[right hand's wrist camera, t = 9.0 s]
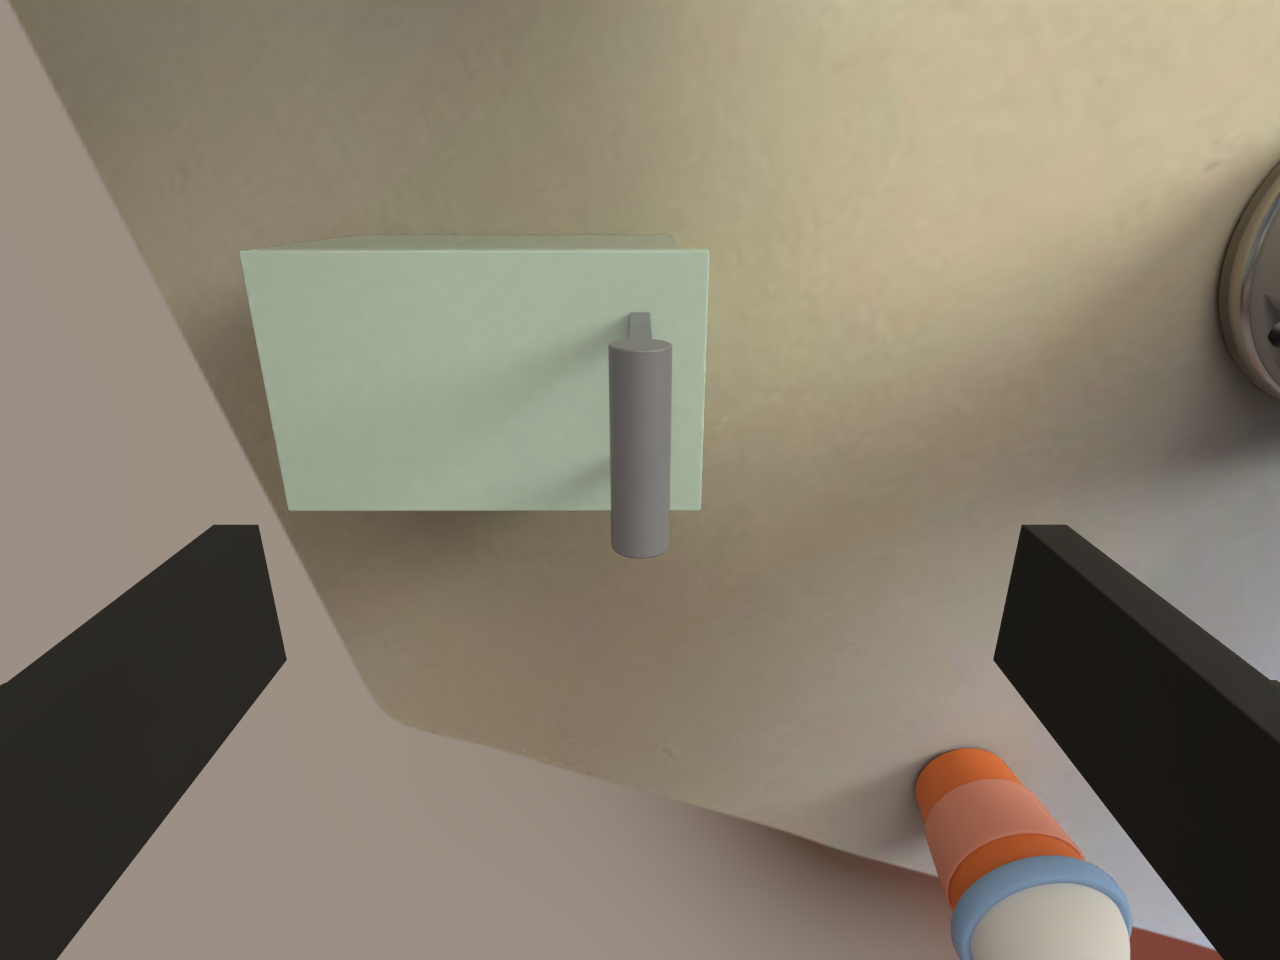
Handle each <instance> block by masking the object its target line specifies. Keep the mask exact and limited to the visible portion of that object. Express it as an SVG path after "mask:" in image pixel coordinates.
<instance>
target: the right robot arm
mask: <svg viewBox="0 0 1280 960" xmlns="http://www.w3.org/2000/svg"><path fill="white" fill-rule="evenodd" d="M1219 313H1220V322H1221V327H1222V332H1223V336H1224V339H1225V342H1226V345H1227V347H1228V349H1229V352H1230V354H1231V356H1232V358H1233V359H1234V361H1235V362H1236V364H1237V365H1238V367H1239V368H1240V370H1241V371H1242V372H1243V373H1244V374H1245V375H1246V377H1247V378H1248V379H1249V380H1251V381H1252V382H1253V383H1254V384H1255V385H1256V386H1258V387H1259V388H1261V389H1262V390H1264V391H1265V392H1267V393H1268V394H1270V395H1272V396H1274V397H1276V398H1278V399H1280V163H1279V164H1278V165H1277V166H1276V168H1275V169H1274V170H1273V171H1272V172H1271V174H1270V175H1269V176H1268V177H1267V179H1266V180H1265V181H1264V182H1263V184H1262V185H1261V187H1260V188H1259V189H1258V191H1257V192H1256V194H1255V195H1254V197H1253V198H1252V200H1251V201H1250V203H1249V205H1248V207H1247V208H1246V210H1245V212H1244V213H1243V215H1242V217H1241V219H1240V221H1239V223H1238V225H1237V227H1236V230H1235V232H1234V234H1233V237H1232V239H1231V242H1230V245H1229V247H1228V251H1227V254H1226V257H1225V261H1224V265H1223V270H1222V274H1221V280H1220V290H1219ZM286 660H287V659H286V654H285V650H284V645H283V640H282V636H281V631H280V626H279V621H278V616H277V612H276V607H275V602H274V597H273V593H272V588H271V583H270V578H269V574H268V569H267V564H266V559H265V555H264V550H263V545H262V541H261V536H260V531H259V526H258V525H213V526H211V527H210V528H209V529H208V530H206V531H205V532H204V533H202V534H201V535H200V536H198V537H197V538H196V539H194V540H193V541H192V542H191V543H189V544H188V545H187V546H185V547H184V548H183V549H181V550H180V551H179V552H177V553H176V554H175V555H173V556H172V557H171V558H170V559H168V560H167V561H166V562H164V563H163V564H162V565H160V566H159V567H158V568H156V569H155V570H154V571H152V572H151V573H150V574H149V575H147V576H146V577H145V578H143V579H142V580H141V581H139V582H138V583H137V584H135V585H134V586H133V587H132V588H130V589H129V590H128V591H126V592H125V593H124V594H122V595H121V596H120V597H118V598H117V599H116V600H114V601H113V602H112V603H111V604H109V605H108V606H107V607H105V608H104V609H103V610H101V611H100V612H99V613H97V614H96V615H95V616H93V617H92V618H91V619H89V620H88V621H87V622H86V623H84V624H83V625H82V626H80V627H79V628H78V629H76V630H75V631H74V632H73V633H71V634H70V635H69V636H67V637H66V638H65V639H63V640H62V641H61V642H59V643H58V644H57V645H55V646H54V647H53V648H52V649H50V650H49V651H48V652H46V653H45V654H44V655H42V656H41V657H40V658H38V659H37V660H36V661H34V662H33V663H32V664H30V665H29V666H28V667H27V668H25V669H24V670H23V671H21V672H20V673H19V674H17V675H16V676H15V677H13V678H12V679H11V680H9V681H8V682H7V683H4V684H2V685H0V960H56V959H57V958H58V957H59V956H60V954H61V953H62V952H63V950H64V949H65V948H66V946H67V945H68V944H69V942H70V941H71V940H72V939H73V937H74V936H75V935H76V933H77V932H78V931H79V930H80V928H81V927H82V926H83V924H84V923H85V922H86V920H87V919H88V918H89V917H90V915H91V914H92V913H93V911H94V910H95V909H96V907H97V906H98V905H99V903H100V902H101V901H102V900H103V898H104V897H105V896H106V894H107V893H108V892H109V890H110V889H111V888H112V887H113V885H114V884H115V883H116V881H117V880H118V879H119V877H120V876H121V875H122V874H123V872H124V871H125V870H126V868H127V867H128V866H129V864H130V863H131V862H132V860H133V859H134V858H135V857H136V855H137V854H138V853H139V851H140V850H141V849H142V848H143V846H144V845H145V844H146V842H147V841H148V840H149V838H150V837H151V836H152V834H153V833H154V832H155V831H156V829H157V828H158V827H159V825H160V824H161V823H162V821H163V820H164V819H165V818H166V816H167V815H168V814H169V812H170V811H171V810H172V808H173V807H174V806H175V805H176V803H177V802H178V801H179V799H180V798H181V797H182V795H183V794H184V793H185V792H186V790H187V789H188V788H189V786H190V785H191V784H192V782H193V781H194V780H195V778H196V777H197V776H198V775H199V773H200V772H201V771H202V769H203V768H204V767H205V765H206V764H207V763H208V762H209V760H210V759H211V758H212V756H213V755H214V754H215V752H216V751H217V750H218V749H219V747H220V746H221V745H222V743H223V742H224V741H225V739H226V738H227V737H228V736H229V734H230V733H231V732H232V730H233V729H234V728H235V726H236V725H237V724H238V723H239V721H240V720H241V719H242V717H243V716H244V715H245V713H246V712H247V711H248V710H249V708H250V707H251V706H252V704H253V703H254V702H255V700H256V699H257V698H258V697H259V695H260V694H261V693H262V691H263V690H264V689H265V687H266V686H267V685H268V684H269V682H270V681H271V680H272V678H273V677H274V676H275V674H276V673H277V672H278V670H279V669H280V668H281V667H282V665H283V664H284V663H285V661H286ZM993 660H994V661H995V663H996V664H997V665H998V667H999V668H1000V669H1001V670H1002V672H1003V673H1004V674H1005V676H1006V677H1007V678H1008V680H1009V681H1010V682H1011V684H1012V685H1013V686H1014V687H1015V689H1016V690H1017V691H1018V693H1019V694H1020V695H1021V697H1022V698H1023V699H1024V700H1025V702H1026V703H1027V704H1028V706H1029V707H1030V708H1031V710H1032V711H1033V712H1034V713H1035V715H1036V716H1037V717H1038V719H1039V720H1040V721H1041V723H1042V724H1043V725H1044V726H1045V728H1046V729H1047V730H1048V732H1049V733H1050V734H1051V736H1052V737H1053V738H1054V739H1055V741H1056V742H1057V743H1058V745H1059V746H1060V747H1061V749H1062V750H1063V751H1064V753H1065V754H1066V755H1067V756H1068V758H1069V759H1070V760H1071V762H1072V763H1073V764H1074V766H1075V767H1076V768H1077V769H1078V771H1079V772H1080V773H1081V775H1082V776H1083V777H1084V779H1085V780H1086V781H1087V782H1088V784H1089V785H1090V786H1091V788H1092V789H1093V790H1094V792H1095V793H1096V794H1097V795H1098V797H1099V798H1100V799H1101V801H1102V802H1103V803H1104V805H1105V806H1106V807H1107V808H1108V810H1109V811H1110V812H1111V814H1112V815H1113V816H1114V818H1115V819H1116V820H1117V822H1118V823H1119V824H1120V825H1121V827H1122V828H1123V829H1124V831H1125V832H1126V833H1127V835H1128V836H1129V837H1130V838H1131V840H1132V841H1133V842H1134V844H1135V845H1136V846H1137V848H1138V849H1139V850H1140V851H1141V853H1142V854H1143V855H1144V857H1145V858H1146V859H1147V861H1148V862H1149V863H1150V864H1151V866H1152V867H1153V868H1154V870H1155V871H1156V872H1157V874H1158V875H1159V876H1160V877H1161V879H1162V880H1163V881H1164V883H1165V884H1166V885H1167V887H1168V888H1169V889H1170V891H1171V892H1172V893H1173V894H1174V896H1175V897H1176V898H1177V900H1178V901H1179V902H1180V904H1181V905H1182V906H1183V907H1184V909H1185V910H1186V911H1187V913H1188V914H1189V915H1190V917H1191V918H1192V919H1193V920H1194V922H1195V923H1196V924H1197V926H1198V927H1199V928H1200V930H1201V931H1202V932H1203V933H1204V935H1205V936H1206V937H1207V939H1208V940H1209V941H1210V943H1211V944H1212V945H1213V946H1214V948H1215V949H1216V950H1217V952H1218V953H1219V954H1220V956H1221V957H1222V958H1223V959H1224V960H1280V682H1278V681H1276V680H1269V679H1268V678H1267V677H1265V676H1264V675H1263V674H1261V673H1260V672H1259V671H1257V670H1256V669H1255V668H1253V667H1252V666H1251V665H1250V664H1248V663H1247V662H1246V661H1244V660H1243V659H1242V658H1240V657H1239V656H1238V655H1236V654H1235V653H1234V652H1233V651H1231V650H1230V649H1229V648H1227V647H1226V646H1225V645H1223V644H1222V643H1221V642H1219V641H1218V640H1217V639H1215V638H1214V637H1213V636H1212V635H1210V634H1209V633H1208V632H1206V631H1205V630H1204V629H1202V628H1201V627H1200V626H1198V625H1197V624H1196V623H1194V622H1193V621H1192V620H1191V619H1189V618H1188V617H1187V616H1185V615H1184V614H1183V613H1181V612H1180V611H1179V610H1177V609H1176V608H1175V607H1173V606H1172V605H1171V604H1170V603H1168V602H1167V601H1166V600H1164V599H1163V598H1162V597H1160V596H1159V595H1158V594H1156V593H1155V592H1154V591H1152V590H1151V589H1150V588H1149V587H1147V586H1146V585H1145V584H1143V583H1142V582H1141V581H1139V580H1138V579H1137V578H1135V577H1134V576H1133V575H1131V574H1130V573H1129V572H1128V571H1126V570H1125V569H1124V568H1122V567H1121V566H1120V565H1118V564H1117V563H1116V562H1114V561H1113V560H1112V559H1110V558H1109V557H1108V556H1107V555H1105V554H1104V553H1103V552H1101V551H1100V550H1099V549H1097V548H1096V547H1095V546H1093V545H1092V544H1091V543H1090V542H1088V541H1087V540H1086V539H1084V538H1083V537H1082V536H1080V535H1079V534H1078V533H1076V532H1075V531H1074V530H1072V529H1071V528H1070V527H1069V526H1067V525H1022V526H1021V531H1020V536H1019V540H1018V545H1017V550H1016V555H1015V559H1014V564H1013V569H1012V574H1011V578H1010V583H1009V588H1008V593H1007V597H1006V602H1005V607H1004V612H1003V616H1002V621H1001V626H1000V631H999V635H998V640H997V645H996V650H995V654H994V659H993Z"/></svg>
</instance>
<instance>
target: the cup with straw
mask: <svg viewBox="0 0 1280 960" xmlns="http://www.w3.org/2000/svg"><path fill="white" fill-rule="evenodd" d="M915 794H916V799H917V802H918V806H919V809H920V812H921V815H922V818H923V821H924V824H925V835H926V839H927V842H928V845H929V848H930V852H931V855H932V858H933V861H934V864H935V867H936V870H937V873H938V876H939V879H940V882H941V885H942V888H943V891H944V894H945V897H946V900H947V903H948V905H949V907H950V909H951V911H952V912H953V915H952V919H951V937H952V941H953V945H954V948H955V950H956V952H957V955H958V957H959V958H960V960H1130V941H1129V938H1130V935H1131V931H1132V915H1131V910H1130V907H1129V904H1128V901H1127V899H1126V897H1125V895H1124V893H1123V891H1122V890H1121V888H1120V887H1119V885H1118V884H1117V883H1116V882H1115V881H1114V880H1113V879H1112V878H1111V877H1110V876H1109V875H1108V874H1107V873H1106V872H1104V871H1103V870H1102V869H1100V868H1098V867H1097V866H1095V865H1093V864H1091V863H1089V862H1086V860H1085V858H1084V856H1083V854H1082V853H1081V851H1080V850H1079V849H1078V847H1077V846H1076V845H1075V844H1074V842H1073V841H1072V840H1071V839H1070V838H1069V836H1068V835H1067V834H1066V833H1065V831H1064V830H1063V829H1062V828H1061V827H1060V825H1059V824H1058V823H1057V822H1056V820H1055V819H1054V818H1053V817H1052V816H1051V814H1050V813H1049V812H1048V811H1047V809H1046V808H1045V807H1044V806H1043V805H1042V803H1041V802H1040V801H1039V800H1038V798H1037V797H1036V796H1035V795H1034V794H1033V793H1032V792H1031V791H1030V790H1029V789H1027V788H1026V787H1024V786H1023V785H1022V784H1021V782H1020V781H1019V780H1018V779H1017V777H1016V776H1015V775H1014V774H1013V773H1012V771H1011V770H1010V769H1009V768H1008V766H1007V765H1006V764H1005V763H1004V762H1003V761H1002V760H1001V759H1000V758H999V757H997V756H996V755H994V754H992V753H990V752H988V751H985V750H981V749H974V748H964V749H957V750H953V751H950V752H947V753H945V754H942V755H940V756H938V757H937V758H935V759H934V760H932V761H931V762H930V763H929V764H928V765H927V766H926V767H925V768H924V769H923V770H922V772H921V773H920V775H919V777H918V779H917V782H916V788H915Z"/></svg>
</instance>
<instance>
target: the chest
mask: <svg viewBox="0 0 1280 960" xmlns="http://www.w3.org/2000/svg"><path fill="white" fill-rule="evenodd" d="M257 249H683V248H682V247H681V246H680V244H679V243H678V242H677V241H676V240H675V239H674V238H673V237H672V236H671V235H359V236H351V237H343V238H335V239H327V240H319V241H312V242H304V243H296V244H288V245H280V246H272V247H264V248H257Z"/></svg>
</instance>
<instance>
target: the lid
mask: <svg viewBox="0 0 1280 960" xmlns="http://www.w3.org/2000/svg"><path fill="white" fill-rule="evenodd" d="M239 257H240V262H241V267H242V272H243V278H244V283H245V288H246V293H247V298H248V304H249V309H250V314H251V319H252V324H253V330H254V335H255V340H256V345H257V350H258V356H259V361H260V366H261V371H262V376H263V382H264V387H265V392H266V397H267V402H268V408H269V413H270V418H271V423H272V428H273V434H274V439H275V444H276V449H277V454H278V460H279V465H280V470H281V475H282V480H283V486H284V491H285V496H286V501H287V506H288V510H289V511H611V546H612V548H613V550H614V551H615V552H616V553H618V554H620V555H622V556H625V557H630V558H651V557H655V556H658V555H661V554H663V553H664V552H666V551H667V549H668V547H669V527H670V511H700V510H701V490H702V460H703V430H704V400H705V370H706V340H707V310H708V280H709V251H708V250H707V249H249V250H241V251H239Z"/></svg>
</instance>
